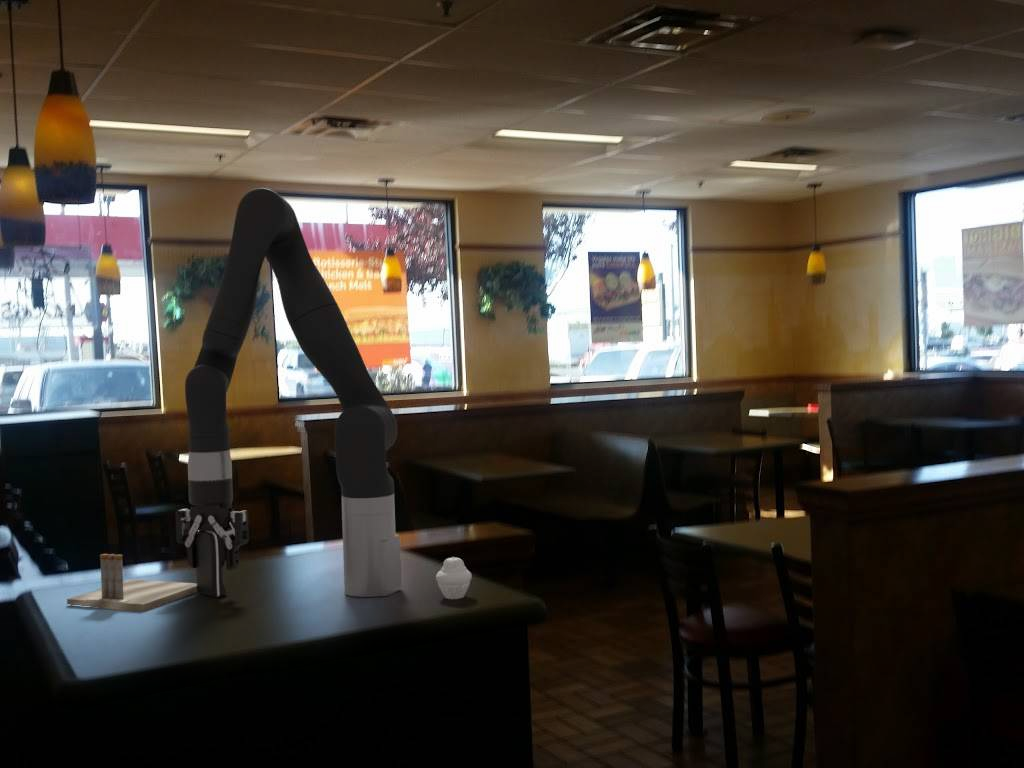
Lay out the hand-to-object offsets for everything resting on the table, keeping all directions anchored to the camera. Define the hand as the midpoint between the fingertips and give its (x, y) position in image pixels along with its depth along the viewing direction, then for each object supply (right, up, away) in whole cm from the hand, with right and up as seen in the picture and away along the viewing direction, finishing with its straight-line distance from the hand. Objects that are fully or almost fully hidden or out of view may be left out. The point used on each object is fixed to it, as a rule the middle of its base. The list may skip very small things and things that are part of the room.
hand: (213, 568), depth 185 cm
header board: (-13, -5, -2) cm, 14 cm away
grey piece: (+43, -4, -7) cm, 44 cm away
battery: (0, -5, 0) cm, 5 cm away
